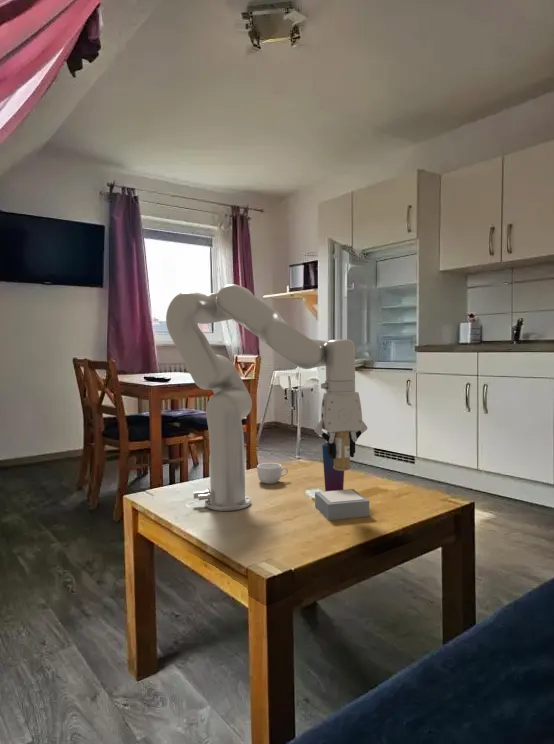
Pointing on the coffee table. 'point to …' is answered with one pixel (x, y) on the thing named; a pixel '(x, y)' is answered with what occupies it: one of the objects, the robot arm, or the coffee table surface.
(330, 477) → the cup
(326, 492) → the base
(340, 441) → the sprinkles bottle
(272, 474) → the teacup
